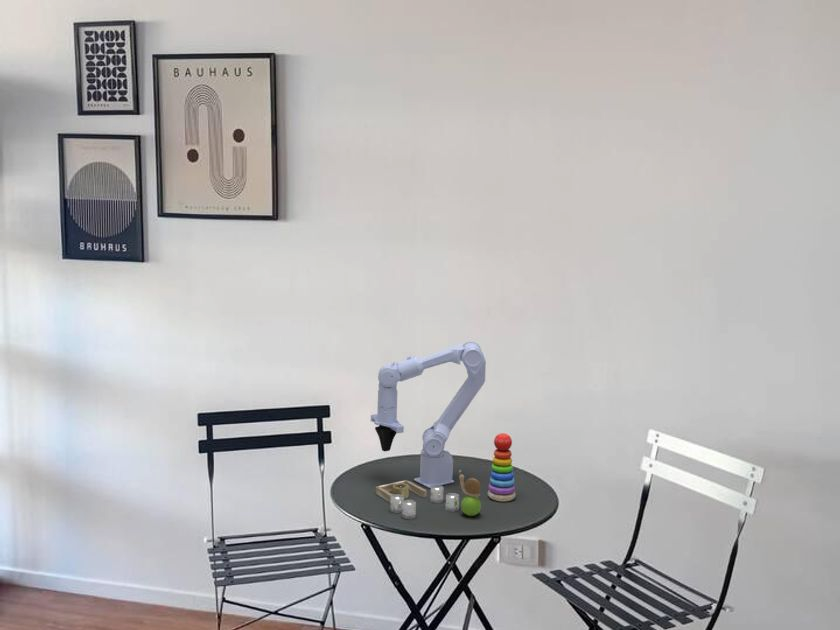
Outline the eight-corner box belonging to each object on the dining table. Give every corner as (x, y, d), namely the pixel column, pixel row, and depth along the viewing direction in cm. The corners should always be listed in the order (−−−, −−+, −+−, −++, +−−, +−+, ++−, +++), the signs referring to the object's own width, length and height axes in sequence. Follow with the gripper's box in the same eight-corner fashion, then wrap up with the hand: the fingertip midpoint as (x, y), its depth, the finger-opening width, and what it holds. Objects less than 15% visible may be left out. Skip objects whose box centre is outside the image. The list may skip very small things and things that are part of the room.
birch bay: (406, 486, 237) (406, 479, 236) (426, 497, 229) (426, 490, 228) (374, 493, 230) (374, 486, 230) (394, 505, 222) (394, 498, 222)
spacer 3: (438, 497, 229) (438, 484, 228) (445, 501, 226) (446, 488, 225) (427, 500, 227) (428, 486, 226) (435, 504, 224) (435, 490, 223)
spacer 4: (453, 505, 223) (453, 491, 223) (461, 510, 220) (461, 496, 220) (442, 508, 221) (443, 494, 221) (450, 512, 218) (451, 498, 218)
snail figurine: (461, 509, 221) (462, 467, 219) (483, 513, 219) (485, 470, 217) (454, 516, 216) (455, 473, 214) (476, 520, 214) (478, 477, 212)
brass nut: (403, 491, 233) (403, 481, 232) (412, 496, 229) (412, 486, 229) (388, 495, 230) (389, 485, 229) (397, 500, 226) (397, 489, 226)
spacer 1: (398, 507, 221) (398, 493, 220) (406, 511, 218) (406, 497, 218) (387, 509, 219) (387, 495, 218) (395, 514, 216) (395, 500, 216)
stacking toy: (518, 494, 233) (521, 432, 230) (511, 504, 225) (514, 439, 223) (492, 490, 236) (495, 428, 233) (484, 499, 228) (486, 435, 225)
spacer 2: (410, 512, 217) (410, 498, 217) (418, 517, 214) (418, 503, 214) (399, 515, 215) (399, 501, 215) (407, 520, 212) (407, 505, 212)
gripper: (362, 402, 241) (361, 445, 243) (390, 413, 229) (388, 459, 231) (382, 399, 245) (381, 442, 247) (410, 410, 233) (408, 455, 235)
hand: (386, 450), depth 239 cm, fingers closed
